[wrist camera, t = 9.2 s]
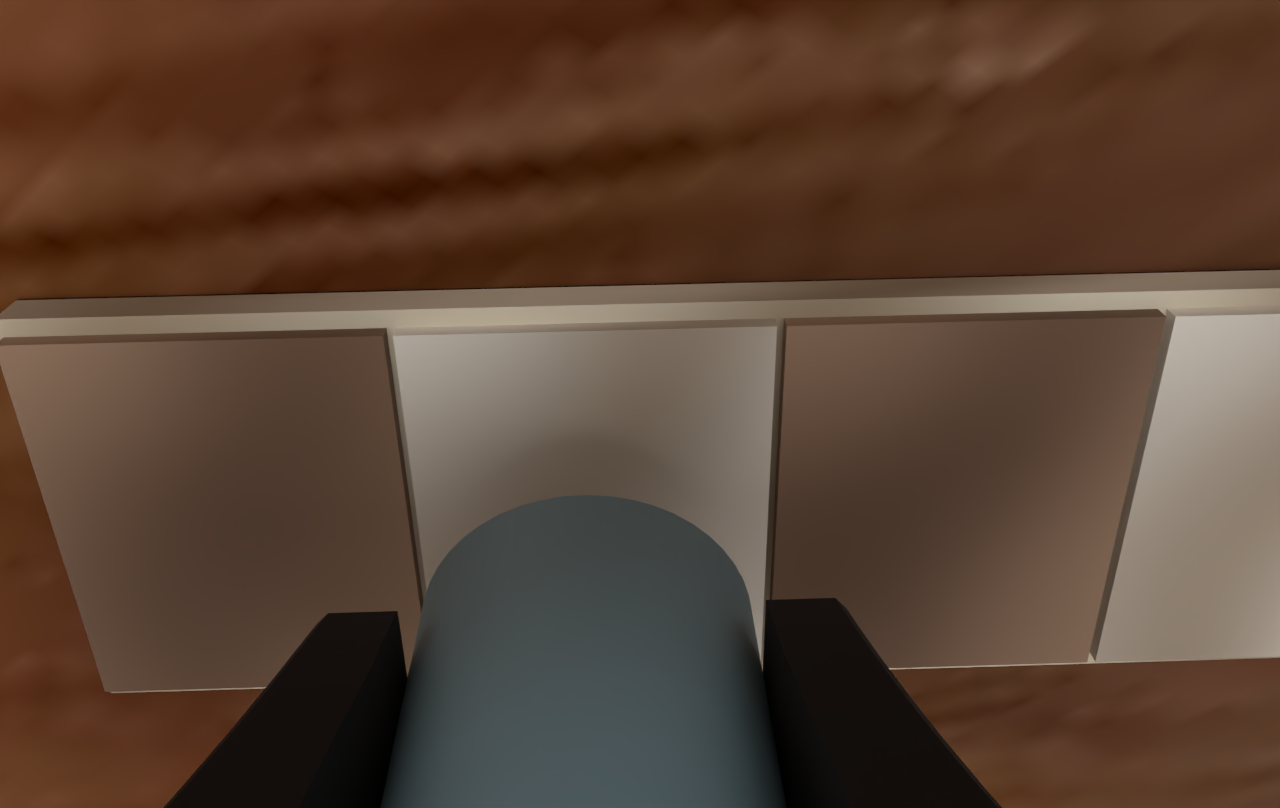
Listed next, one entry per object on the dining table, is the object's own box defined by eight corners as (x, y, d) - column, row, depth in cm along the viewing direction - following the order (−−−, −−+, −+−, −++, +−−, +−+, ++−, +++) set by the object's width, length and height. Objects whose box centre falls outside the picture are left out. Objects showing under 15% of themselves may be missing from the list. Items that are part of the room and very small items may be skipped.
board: (1513, 263, 12) (1563, 288, 11) (1374, 628, 14) (1409, 665, 14) (15, 300, 12) (-17, 327, 11) (126, 665, 14) (104, 704, 13)
